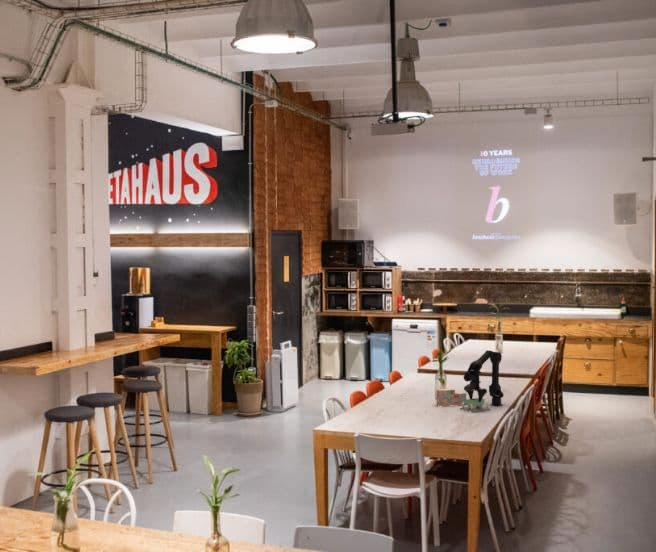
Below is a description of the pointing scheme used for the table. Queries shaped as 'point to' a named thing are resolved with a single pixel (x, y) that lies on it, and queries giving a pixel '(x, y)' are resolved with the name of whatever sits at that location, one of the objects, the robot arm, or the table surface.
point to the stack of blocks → (450, 397)
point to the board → (474, 402)
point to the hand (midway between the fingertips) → (475, 401)
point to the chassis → (475, 408)
